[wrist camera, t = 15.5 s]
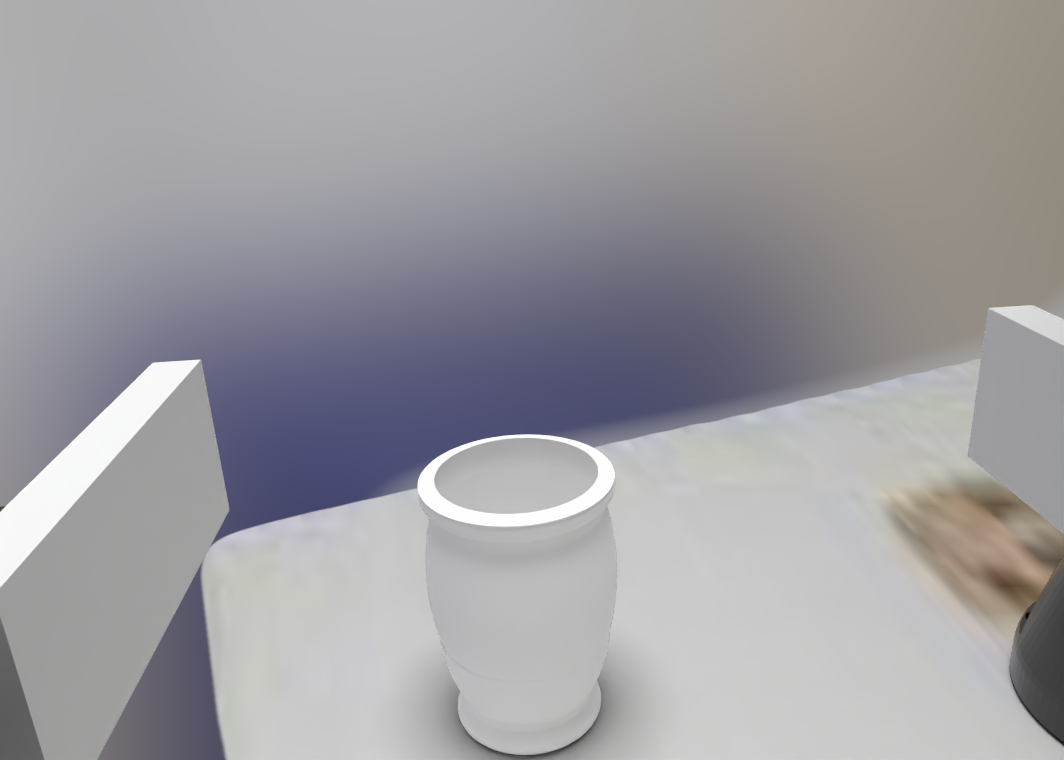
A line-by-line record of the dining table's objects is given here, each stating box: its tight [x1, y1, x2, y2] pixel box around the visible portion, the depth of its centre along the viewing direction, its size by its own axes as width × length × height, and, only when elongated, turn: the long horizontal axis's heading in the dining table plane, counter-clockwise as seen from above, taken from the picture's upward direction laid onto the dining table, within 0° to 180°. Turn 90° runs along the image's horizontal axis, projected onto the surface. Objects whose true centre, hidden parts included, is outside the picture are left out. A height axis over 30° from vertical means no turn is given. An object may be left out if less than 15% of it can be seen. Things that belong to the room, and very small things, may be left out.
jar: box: [418, 435, 617, 755], centre depth 49 cm, size 11×10×15 cm
